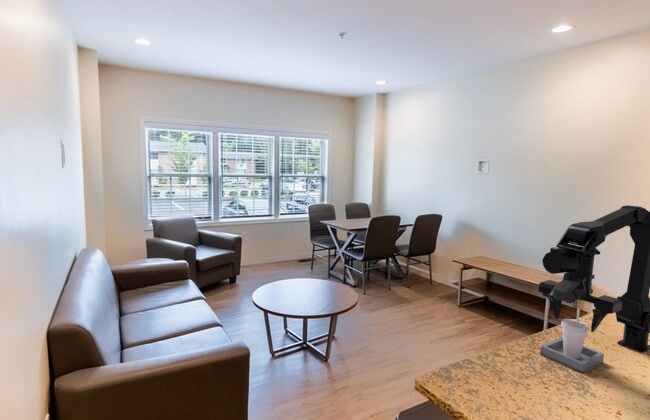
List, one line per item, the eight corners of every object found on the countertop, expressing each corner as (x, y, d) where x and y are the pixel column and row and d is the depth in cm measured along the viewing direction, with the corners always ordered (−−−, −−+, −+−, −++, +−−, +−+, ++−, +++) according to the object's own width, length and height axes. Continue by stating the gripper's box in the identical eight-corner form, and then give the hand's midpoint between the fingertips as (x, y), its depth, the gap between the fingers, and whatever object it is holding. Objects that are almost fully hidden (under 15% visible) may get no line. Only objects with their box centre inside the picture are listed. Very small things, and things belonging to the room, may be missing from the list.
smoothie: (590, 363, 99) (595, 314, 97) (563, 360, 100) (568, 312, 98) (579, 351, 105) (583, 305, 103) (554, 349, 106) (558, 303, 104)
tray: (561, 345, 110) (562, 337, 110) (603, 362, 100) (604, 353, 100) (540, 354, 105) (540, 345, 104) (582, 373, 95) (583, 364, 95)
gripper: (528, 265, 103) (524, 318, 105) (604, 285, 87) (597, 346, 89) (551, 261, 109) (546, 311, 111) (626, 278, 93) (619, 336, 95)
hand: (574, 325), depth 101 cm, fingers open, 9 cm apart
